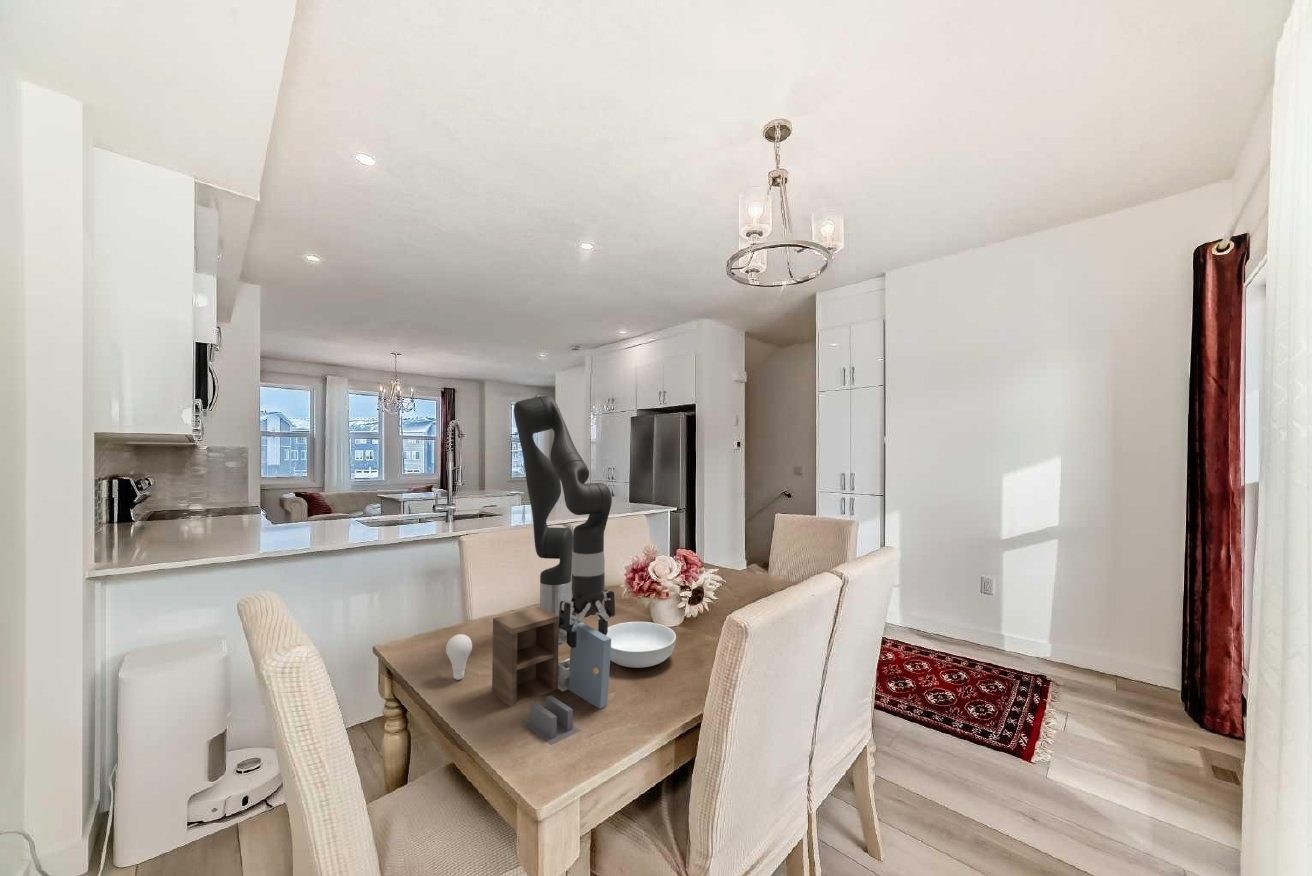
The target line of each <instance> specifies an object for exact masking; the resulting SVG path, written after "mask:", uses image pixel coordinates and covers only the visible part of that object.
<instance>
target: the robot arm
mask: <svg viewBox="0 0 1312 876" xmlns="http://www.w3.org/2000/svg"><path fill="white" fill-rule="evenodd" d="M513 415H514V421H515V426H516V431H517V434H518V439H519V443H520V447H521V452H522V457H523V465H524V471H525V472H524V473H525V479H526V481H525V482H526V486H527V493H528V498H529V502H530V504H529V505H530V508H531V514H532V523H533V525H532V526H533V538H534V550H535V553H536V554H537V557H538V558H541V559H549V560H550V559H551V560H552V559H554V560H555V559H556V560H558V559H559V563H558V564H556V565H555V566H552V567H549V568H546V569H544V570H543V571H541V573H540V575H539V608H542V609H544V610H546V611H548V612H551V613H553V614H555V615H557V616H559V625H558V626H559V628H561V629H563V630H565V631H567V643H566V644H567V645H568V647H570V649H571V648H575V647H576V639H577V631H575V630H576V628H577V626H578V624H579V623H581V622H582V623H583V620H584V618H588V617H589V616H595V615H596V616H597V617H598V618H599V619H598V621H597V622H598V623H597V624H598V626H597V627H598V629H597V631H599V632H600V633H602V634H604V635H606V634H607V632H608V627H609V626H608V625H609V624H608V621H609V620H610V619H611V617H612V618H613V617H615V616H616V605H615V604H616V603H615V592H614V591H612V590H610V589H605V588H606V587H605V584H606V583H605V582H606V581H605V577H606V572H605V571H606V569H605V567H606V566H605V565H606V564H605V563H606V561H605V560H606V559H605V552H604V551H605V546H604V545H605V541H604V540H605V531H606V527H607V523H608V519H609V516H610V511H611V508H612V504H613V503H612V501H613V499H612V492H611V490H610V488H609V487H608V485H607V484H605V483H603V482H592V483H588V482H587V481H588V480H589V477H590V470H589V468H588V466H587V464H586V463H585V461H584V460H583V458H582V457H581V455H580V453H579V452H578V450H577V448H576V446H575V444H574V442H573V440H572V439H573V438H572V437H571V435H570V431H569V430H568V427H567V424H566V422H565V420H564V418H563V415H562V412H561V410H560V408H559V407H558V404H557V403H556V401H555V399H554V398H553V397H552V396H551V395H541V396H535V397H530V398H525V399H522V400H518V401H516V402H515V403H514V406H513ZM551 429H552V430H553V432H554V436H553V442H552V445H551V448H550V454H549V455H550V458H549V457H548V456H547V455H545V454H544V453H543V451H541V449H540V448H539V447H538V446H537V444H536V442H535V440H534V434H538V433H541V432H546V431H550V430H551ZM562 491H563V495H564V496H563V497H564V504H565V506H566V508H567V510H568V511H569V512H571V513H572V514H573V515H575V516H585V515H588V518H587V520H585V522H583V523H581V524H578V525H576V526H575V527H574V529H573V531H572V529H571V528H570V527H556V526H555V527H554V526H553V527H549V526H548V524H547V523H548V522H547V520H548V519H549V516H550V514H551V512H552V510H553V509H554V507H555V506H556V505H557V503H558V501H559V499H560V497H561V495H562V494H561V493H562ZM603 603H604V605H603ZM576 615H578V616H576ZM559 644H561V643H560V642H558V645H559Z"/></svg>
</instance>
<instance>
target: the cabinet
mask: <svg viewBox="0 0 1312 876" xmlns="http://www.w3.org/2000/svg"><path fill="white" fill-rule="evenodd" d="M558 625H559V616H557V615H555V614H553V613H551V612H548V611H546V610H544V609H542V608H540V606H539V607H533V608H529V609H524V610H521V611H517V612H513V613H508V614H504V615H501V616H498V617H494V618H492V661H491V662H492V666H491V667H492V669H491V670H492V674H491V675H492V676H491V677H492V678H491V679H492V681H491V682H492V683H491V684H492V685H491V692H492V693H493V695H495V696H496V697H498V698H499V699H500V700H502V701H503V702H504V703H506V704H507V705H508V706H510V707H514V706H518V705H520V704H522V703H525V702H527V701H529V700H532V699H535V698H538V697H540V696H543V695H546V694H548V693H550V692H553V691H555V690H559V691H561V692H564V691H566V690H567V691H569V690H568V685H569V677H568V678H566V679H565V678H564V677H562V676H561V675H559V674H558V662H559V644H562V645H564V644H567V636H566V635H564V634H563V633H561V632H559V626H558ZM558 642H560V643H559V644H558ZM569 667H570V661H566V662H565V668H569Z"/></svg>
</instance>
